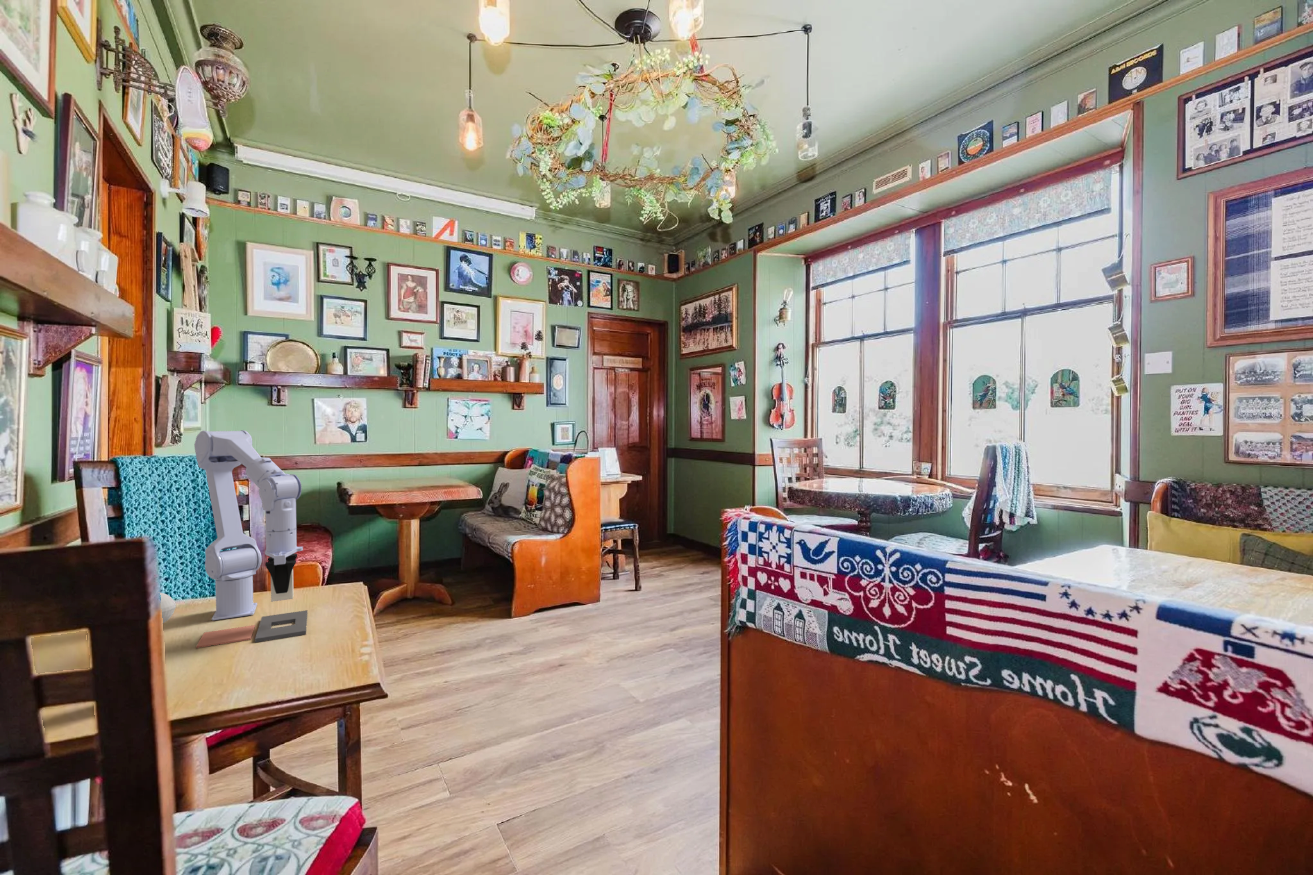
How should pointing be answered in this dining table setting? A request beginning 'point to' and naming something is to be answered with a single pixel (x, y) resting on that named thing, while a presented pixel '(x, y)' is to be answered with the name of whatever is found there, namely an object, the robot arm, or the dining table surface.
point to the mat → (226, 636)
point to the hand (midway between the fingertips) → (282, 590)
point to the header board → (282, 632)
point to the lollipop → (167, 606)
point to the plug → (282, 595)
